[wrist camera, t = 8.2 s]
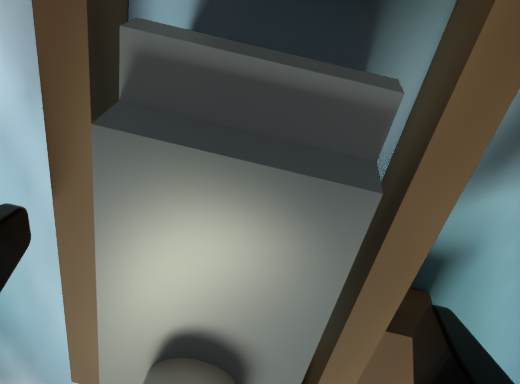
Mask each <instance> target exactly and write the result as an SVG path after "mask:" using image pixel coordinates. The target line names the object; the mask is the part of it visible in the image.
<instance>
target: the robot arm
mask: <svg viewBox="0 0 520 384" xmlns="http://www.w3.org/2000/svg"><path fill="white" fill-rule="evenodd" d="M30 240H31V232H30V225H29V219H28V213H27V210H26V209H25V208H24V207H21V206H17V205H13V204H2V205H0V292H1V291H2V289H3V287H4V286H5V284H6V282H7V281H8V279H9V277H10V276H11V274H12V273H13V271H14V269H15V268H16V266H17V264H18V263H19V261H20V259H21V258H22V256H23V254H24V253H25V251H26V250H27V248H28V246H29V244H30ZM412 344H413V381H414V384H514V382H513V381H512V380H511V379H510V378H509V377H508V375H507V374H506V373H505V372H504V371H503V370H502V369H501V367H500V366H499V365H498V364H497V363H496V362H495V360H494V359H493V358H492V357H491V356H490V355H489V353H488V352H487V351H486V350H485V349H484V348H483V346H482V345H481V344H480V343H479V342H478V341H477V340H476V338H475V337H474V336H473V335H472V334H471V333H470V331H469V330H468V329H467V328H466V327H465V326H464V324H463V323H462V322H461V321H460V320H459V319H458V318H457V316H456V315H455V314H454V313H453V312H452V311H451V310H450V309H448V308H445V307H441V306H437V305H429V306H428V307H427V308H426V310H425V311H424V313H423V315H422V316H421V318H420V320H419V321H418V323H417V325H416V326H415V328H414V331H413V337H412Z"/></svg>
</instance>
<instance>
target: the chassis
mask: <svg viewBox="0 0 520 384" xmlns="http://www.w3.org/2000/svg"><path fill="white" fill-rule="evenodd" d="M32 7H33V17H34V26H35V36H36V45H37V55H38V64H39V74H40V83H41V93H42V102H43V112H44V122H45V131H46V141H47V150H48V160H49V169H50V179H51V188H52V198H53V208H54V217H55V227H56V236H57V246H58V255H59V265H60V274H61V284H62V294H63V303H64V313H65V322H66V332H67V341H68V351H69V360H70V370H71V379H72V382H75V383H79V384H99V354H98V323H97V291H96V260H95V228H94V196H93V165H92V133H91V124H92V123H93V122H94V121H95V120H96V119H98V118H99V117H100V116H101V115H102V114H104V113H105V112H106V111H107V110H108V109H110V108H111V107H112V106H113V105H114V104H116V103H117V102H118V101H119V59H120V25H122V24H124V23H126V22H128V0H32ZM519 88H520V0H458V1H457V3H456V6H455V8H454V10H453V13H452V15H451V18H450V20H449V22H448V25H447V27H446V30H445V32H444V34H443V37H442V39H441V42H440V44H439V46H438V49H437V51H436V54H435V56H434V58H433V61H432V63H431V66H430V68H429V70H428V73H427V75H426V78H425V80H424V82H423V85H422V87H421V90H420V92H419V94H418V97H417V99H416V102H415V104H414V106H413V109H412V111H411V114H410V116H409V118H408V121H407V123H406V126H405V128H404V130H403V133H402V135H401V138H400V140H399V142H398V145H397V147H396V150H395V152H394V154H393V157H392V159H391V162H390V164H389V166H388V169H387V171H386V174H385V176H384V178H383V181H382V183H381V186H382V191H383V195H382V198H381V200H380V202H379V205H378V207H377V209H376V212H375V214H374V216H373V218H372V221H371V223H370V225H369V228H368V230H367V232H366V235H365V237H364V239H363V242H362V244H361V246H360V249H359V251H358V253H357V256H356V258H355V260H354V263H353V265H352V267H351V269H350V272H349V274H348V276H347V279H346V281H345V283H344V286H343V288H342V290H341V293H340V295H339V297H338V300H337V302H336V304H335V307H334V309H333V311H332V313H331V316H330V318H329V320H328V323H327V325H326V327H325V330H324V332H323V334H322V337H321V339H320V341H319V344H318V346H317V348H316V351H315V353H314V355H313V358H312V360H311V362H310V364H309V367H308V369H307V371H306V374H305V376H304V378H303V381H302V383H301V384H414V381H413V344H412V337H413V331H414V328H415V326H416V325H417V323H418V321H419V320H420V318H421V316H422V315H423V313H424V311H425V310H426V308H427V307H428V306H429V305H432V301H431V297H430V294H429V293H428V292H424V291H420V290H415V289H411V288H409V287H410V286H411V284H412V282H413V280H414V278H415V277H416V275H417V273H418V271H419V269H420V267H421V266H422V264H423V262H424V260H425V258H426V257H427V255H428V253H429V251H430V249H431V248H432V246H433V244H434V242H435V240H436V238H437V237H438V235H439V233H440V231H441V229H442V228H443V226H444V224H445V222H446V220H447V219H448V217H449V215H450V213H451V211H452V209H453V208H454V206H455V204H456V202H457V200H458V199H459V197H460V195H461V193H462V191H463V190H464V188H465V186H466V184H467V182H468V180H469V179H470V177H471V175H472V173H473V171H474V170H475V168H476V166H477V164H478V162H479V160H480V159H481V157H482V155H483V153H484V151H485V150H486V148H487V146H488V144H489V142H490V141H491V139H492V137H493V135H494V133H495V131H496V130H497V128H498V126H499V124H500V122H501V121H502V119H503V117H504V115H505V113H506V112H507V110H508V108H509V106H510V104H511V102H512V101H513V99H514V97H515V95H516V93H517V92H518V90H519Z"/></svg>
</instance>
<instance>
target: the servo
mask: <svg viewBox="0 0 520 384" xmlns="http://www.w3.org/2000/svg"><path fill="white" fill-rule="evenodd" d="M403 95H404V92H403V89H402V87H401V85H400V83H399V81H398V79H394V78H389V77H385V76H381V75H377V74H373V73H368V72H364V71H360V70H356V69H351V68H347V67H343V66H339V65H335V64H330V63H326V62H322V61H318V60H313V59H309V58H305V57H301V56H297V55H292V54H288V53H284V52H280V51H275V50H271V49H267V48H263V47H259V46H254V45H250V44H246V43H242V42H237V41H233V40H229V39H225V38H221V37H216V36H212V35H208V34H204V33H200V32H195V31H191V30H187V29H183V28H178V27H174V26H170V25H166V24H162V23H157V22H153V21H149V20H145V19H140V18H134V19H132V20H130V21H128V22H126V23H124V24H122V25H120V59H119V101H118V102H117V103H116V104H114V105H113V106H112V107H111V108H110V109H108V110H107V111H106V112H105V113H104V114H102V115H101V116H100V117H99V118H98V119H96V120H95V121H94V122H93V123H92V124H91V133H92V165H93V196H94V228H95V260H96V291H97V323H98V354H99V384H301V383H302V381H303V378H304V376H305V374H306V371H307V369H308V367H309V364H310V362H311V360H312V358H313V355H314V353H315V351H316V348H317V346H318V344H319V341H320V339H321V337H322V334H323V332H324V330H325V327H326V325H327V323H328V320H329V318H330V316H331V313H332V311H333V309H334V307H335V304H336V302H337V300H338V297H339V295H340V293H341V290H342V288H343V286H344V283H345V281H346V279H347V276H348V274H349V272H350V269H351V267H352V265H353V263H354V260H355V258H356V256H357V253H358V251H359V249H360V246H361V244H362V242H363V239H364V237H365V235H366V232H367V230H368V228H369V225H370V223H371V221H372V218H373V216H374V214H375V212H376V209H377V207H378V205H379V202H380V200H381V198H382V195H383V191H382V186H381V181H380V176H379V171H378V166H377V160H378V157H379V155H380V152H381V150H382V147H383V145H384V142H385V140H386V137H387V135H388V132H389V130H390V127H391V125H392V122H393V120H394V117H395V115H396V112H397V110H398V107H399V105H400V102H401V100H402V97H403Z"/></svg>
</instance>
